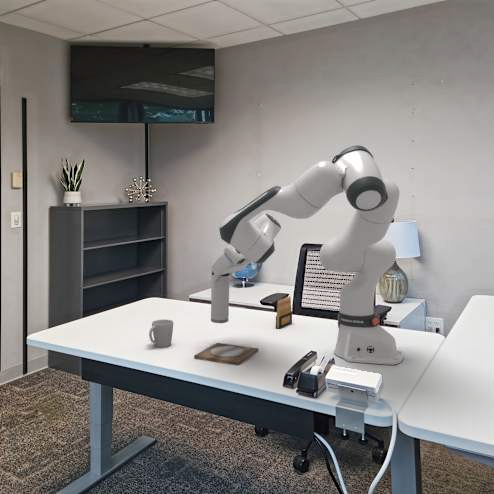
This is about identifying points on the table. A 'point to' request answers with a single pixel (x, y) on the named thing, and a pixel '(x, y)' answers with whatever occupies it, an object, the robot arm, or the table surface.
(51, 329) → the table surface
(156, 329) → the cup
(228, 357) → the board
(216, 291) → the travel mug
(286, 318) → the ammunition clip
